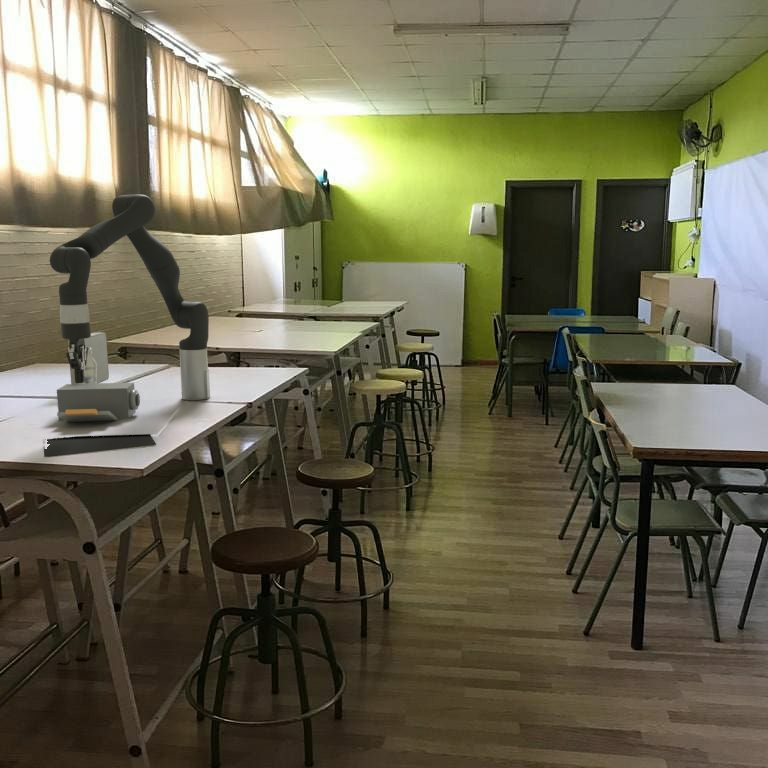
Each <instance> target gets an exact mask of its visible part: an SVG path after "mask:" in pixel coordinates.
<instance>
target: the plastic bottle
mask: <svg viewBox="0 0 768 768" xmlns="http://www.w3.org/2000/svg"><path fill="white" fill-rule="evenodd" d="M91 354H92V349H91V348H88V355H87V364H86V366H85V369H84V377H85V382H83V383H79V384H97V382H96V381H97V363H96V361H95V359H94V358H93V357H92V356H91Z"/></svg>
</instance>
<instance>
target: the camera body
mask: <svg viewBox="0 0 768 768" xmlns="http://www.w3.org/2000/svg"><path fill="white" fill-rule="evenodd" d="M56 400H57V409H58V411H57V412H66V410H73V409H96V410H97V411H110V412H111V413H112V414H113V415H115V416H116V417H117V418H118V420H128V419H130V418H132V416H133V415H135V413H136V412H137V410H138V409H139V407H140V405H141V403H140V402H141V396H140V393H139V391H138V389H135V382H107V383H106V382H105V383H104V382H101V383H97V384H71V383H66V384H64V385H63V386H61V387H59V388H58V389H56ZM58 421H60V422H61V421H62V422H63V421H65V420H64V419H62V418H60V417H59V416H58Z"/></svg>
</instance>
